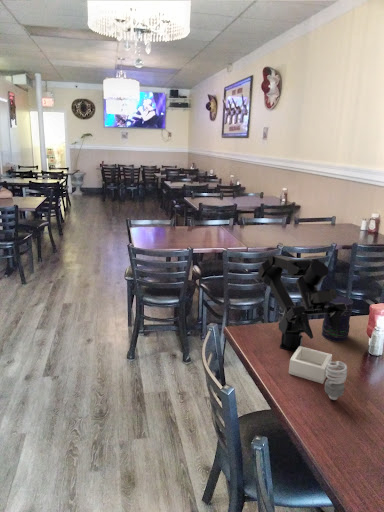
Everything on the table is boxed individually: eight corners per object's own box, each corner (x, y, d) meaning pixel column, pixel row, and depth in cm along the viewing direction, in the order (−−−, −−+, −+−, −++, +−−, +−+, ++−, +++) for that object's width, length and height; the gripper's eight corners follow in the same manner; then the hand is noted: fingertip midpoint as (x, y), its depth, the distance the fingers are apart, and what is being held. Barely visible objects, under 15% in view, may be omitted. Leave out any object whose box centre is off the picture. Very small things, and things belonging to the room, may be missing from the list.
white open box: (288, 373, 129) (289, 359, 127) (298, 359, 138) (299, 345, 136) (322, 383, 123) (324, 369, 122) (330, 368, 132) (332, 354, 131)
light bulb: (333, 407, 112) (338, 369, 109) (318, 396, 117) (322, 359, 114) (347, 402, 115) (352, 364, 111) (332, 391, 119) (337, 355, 116)
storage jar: (340, 329, 161) (345, 294, 157) (353, 341, 152) (358, 304, 148) (316, 330, 160) (321, 295, 156) (328, 342, 150) (333, 305, 146)
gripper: (292, 281, 123) (309, 328, 115) (346, 278, 127) (365, 323, 119) (280, 298, 132) (294, 343, 124) (330, 295, 136) (347, 338, 128)
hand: (325, 336), depth 123 cm, fingers open, 9 cm apart
